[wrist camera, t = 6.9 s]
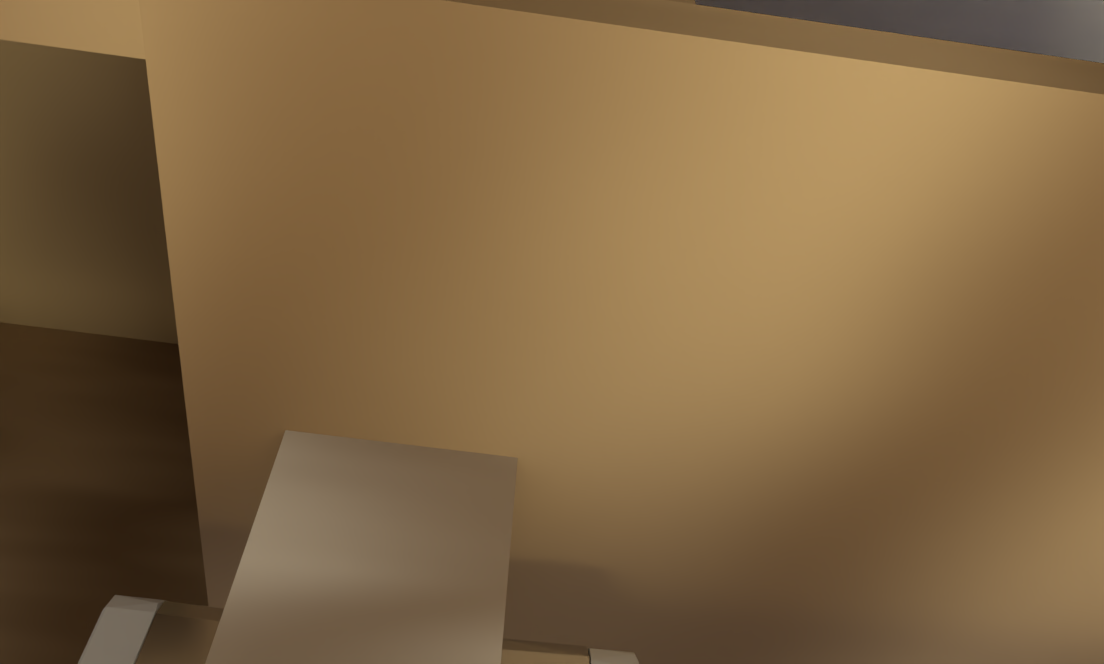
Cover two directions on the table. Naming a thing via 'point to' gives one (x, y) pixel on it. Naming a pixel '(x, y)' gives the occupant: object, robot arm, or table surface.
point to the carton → (86, 336)
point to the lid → (633, 333)
